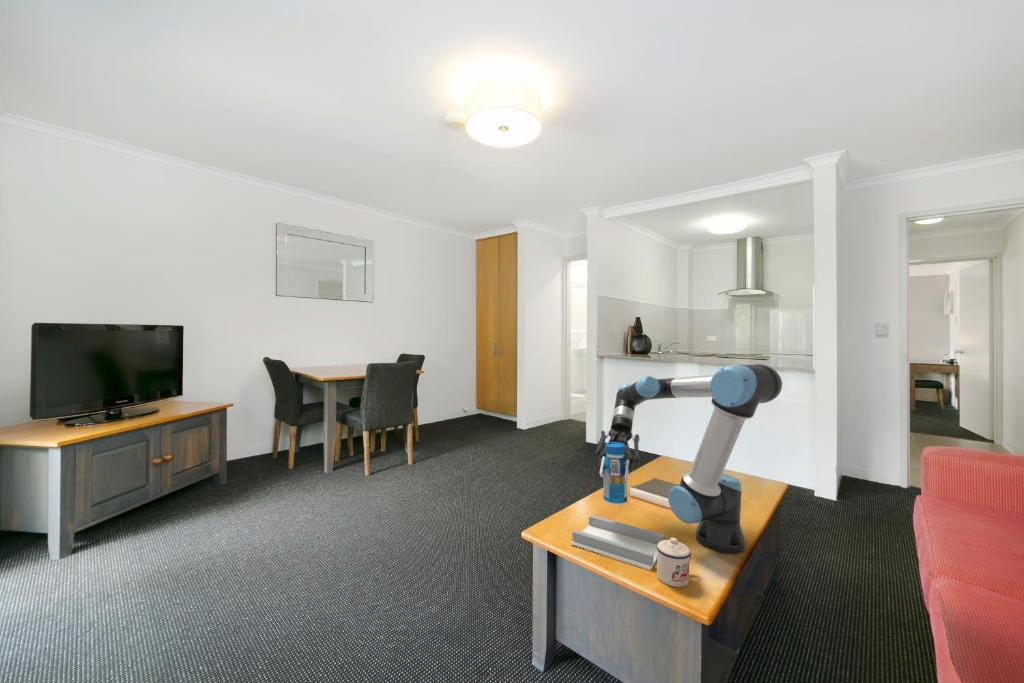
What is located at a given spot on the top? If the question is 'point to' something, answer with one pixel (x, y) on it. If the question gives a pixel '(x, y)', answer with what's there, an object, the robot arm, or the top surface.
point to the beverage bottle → (614, 474)
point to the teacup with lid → (673, 562)
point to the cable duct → (619, 541)
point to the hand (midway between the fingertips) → (613, 476)
